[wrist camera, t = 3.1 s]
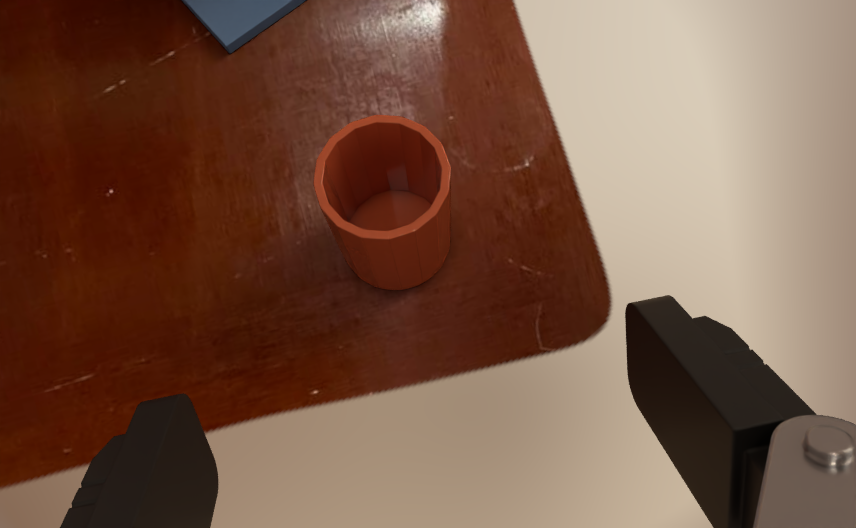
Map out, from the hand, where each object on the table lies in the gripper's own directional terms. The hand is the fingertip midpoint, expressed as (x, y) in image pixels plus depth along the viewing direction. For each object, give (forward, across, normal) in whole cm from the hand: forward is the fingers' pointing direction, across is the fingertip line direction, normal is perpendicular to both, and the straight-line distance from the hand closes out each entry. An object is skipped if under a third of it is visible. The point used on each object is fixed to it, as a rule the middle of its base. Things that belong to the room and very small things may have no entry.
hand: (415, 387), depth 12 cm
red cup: (+24, 0, +8) cm, 25 cm away
